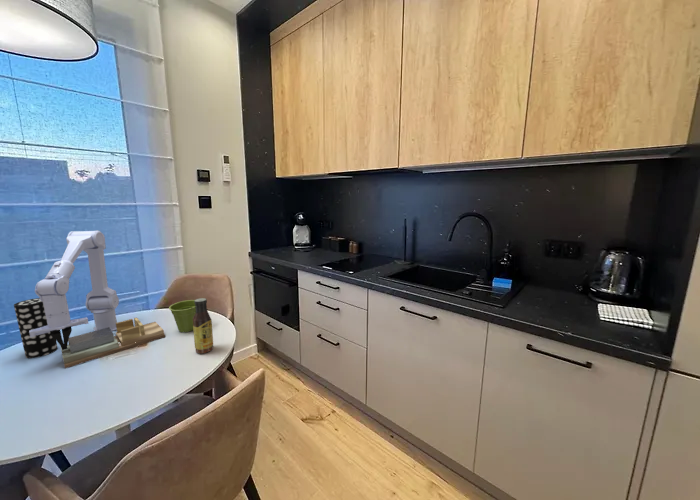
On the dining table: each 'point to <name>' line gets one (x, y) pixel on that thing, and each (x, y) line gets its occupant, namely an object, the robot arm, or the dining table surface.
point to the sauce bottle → (202, 327)
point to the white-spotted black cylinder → (33, 318)
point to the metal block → (90, 339)
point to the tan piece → (116, 342)
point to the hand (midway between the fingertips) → (64, 348)
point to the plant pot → (184, 314)
